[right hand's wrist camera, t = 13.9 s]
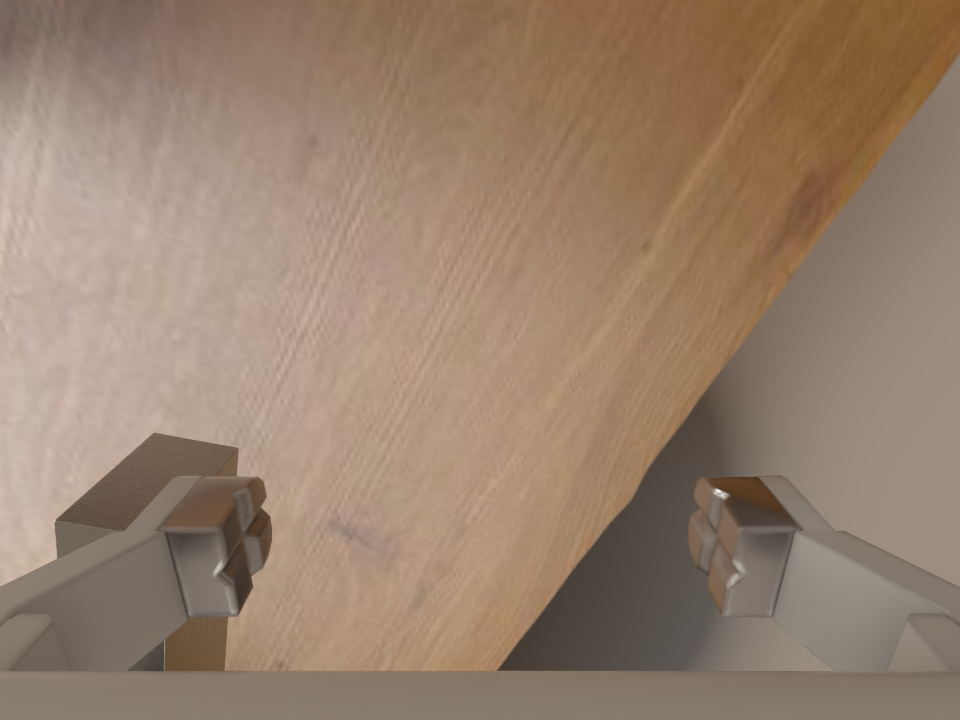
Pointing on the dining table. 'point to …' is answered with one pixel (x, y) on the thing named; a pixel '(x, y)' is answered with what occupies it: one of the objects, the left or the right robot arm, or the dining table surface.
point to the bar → (123, 503)
